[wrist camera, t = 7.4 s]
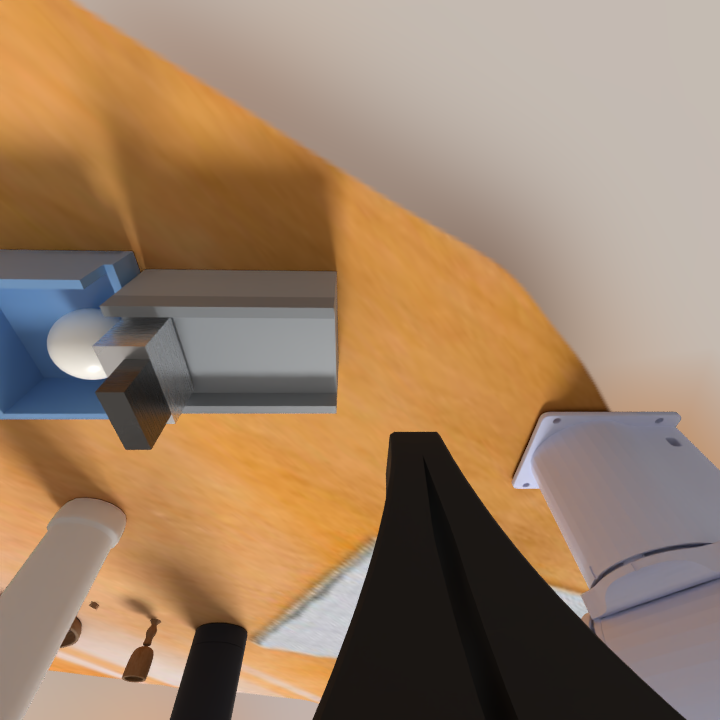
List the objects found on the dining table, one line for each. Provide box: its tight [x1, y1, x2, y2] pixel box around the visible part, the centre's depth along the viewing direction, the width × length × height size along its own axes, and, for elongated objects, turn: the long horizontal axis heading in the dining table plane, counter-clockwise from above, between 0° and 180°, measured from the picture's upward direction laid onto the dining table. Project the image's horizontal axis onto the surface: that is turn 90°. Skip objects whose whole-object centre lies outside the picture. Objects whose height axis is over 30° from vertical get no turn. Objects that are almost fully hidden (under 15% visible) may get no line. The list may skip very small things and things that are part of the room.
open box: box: [0, 249, 140, 419], centre depth 18 cm, size 8×8×4 cm
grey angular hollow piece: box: [92, 317, 194, 450], centre depth 15 cm, size 2×4×4 cm, turn 179°
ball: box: [47, 308, 121, 380], centre depth 18 cm, size 4×4×4 cm
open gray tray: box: [99, 269, 338, 413], centre depth 18 cm, size 10×6×4 cm, turn 89°
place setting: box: [60, 602, 161, 682], centre depth 41 cm, size 18×20×6 cm
